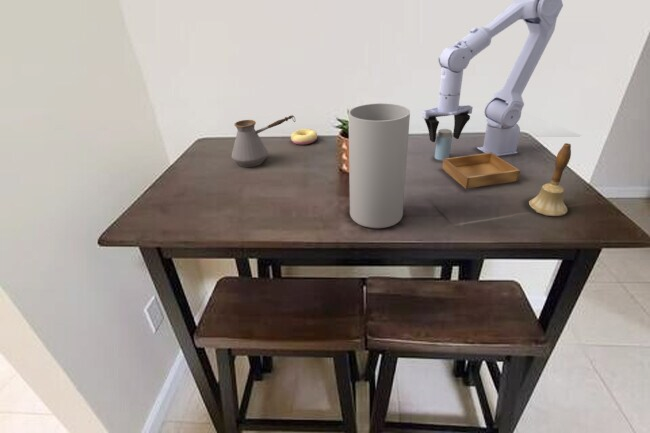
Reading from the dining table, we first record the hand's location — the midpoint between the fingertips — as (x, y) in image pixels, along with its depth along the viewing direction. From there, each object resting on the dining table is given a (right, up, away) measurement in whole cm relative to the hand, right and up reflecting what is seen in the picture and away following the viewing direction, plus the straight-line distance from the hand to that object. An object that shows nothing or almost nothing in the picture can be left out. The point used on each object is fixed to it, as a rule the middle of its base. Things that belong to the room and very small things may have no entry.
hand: (444, 139), depth 114 cm
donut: (-43, +4, +23) cm, 49 cm away
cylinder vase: (-24, -23, -23) cm, 40 cm away
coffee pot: (-55, -6, +8) cm, 56 cm away
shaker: (0, -5, +3) cm, 6 cm away
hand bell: (+17, -21, -24) cm, 36 cm away
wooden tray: (+7, -12, -8) cm, 16 cm away
